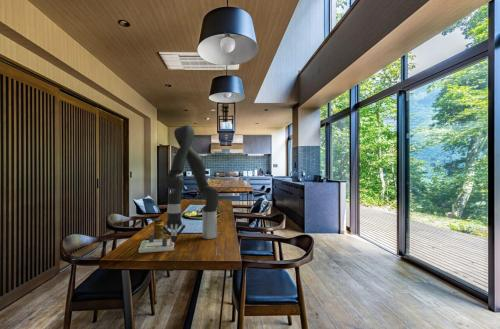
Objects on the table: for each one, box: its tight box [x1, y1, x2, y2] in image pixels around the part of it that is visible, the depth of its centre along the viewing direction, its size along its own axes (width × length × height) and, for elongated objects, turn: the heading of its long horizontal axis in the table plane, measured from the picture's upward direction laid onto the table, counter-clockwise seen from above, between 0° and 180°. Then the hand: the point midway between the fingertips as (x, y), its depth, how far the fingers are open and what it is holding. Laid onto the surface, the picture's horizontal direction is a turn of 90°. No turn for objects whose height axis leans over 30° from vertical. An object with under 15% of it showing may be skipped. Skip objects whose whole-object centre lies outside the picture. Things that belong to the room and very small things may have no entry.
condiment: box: [153, 218, 165, 240], centre depth 167 cm, size 7×8×12 cm
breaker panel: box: [138, 238, 175, 254], centre depth 148 cm, size 18×16×2 cm
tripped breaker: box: [161, 236, 168, 246], centre depth 145 cm, size 2×2×4 cm
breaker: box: [148, 233, 154, 242], centre depth 152 cm, size 2×2×4 cm
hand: (173, 242), depth 146 cm, fingers closed
